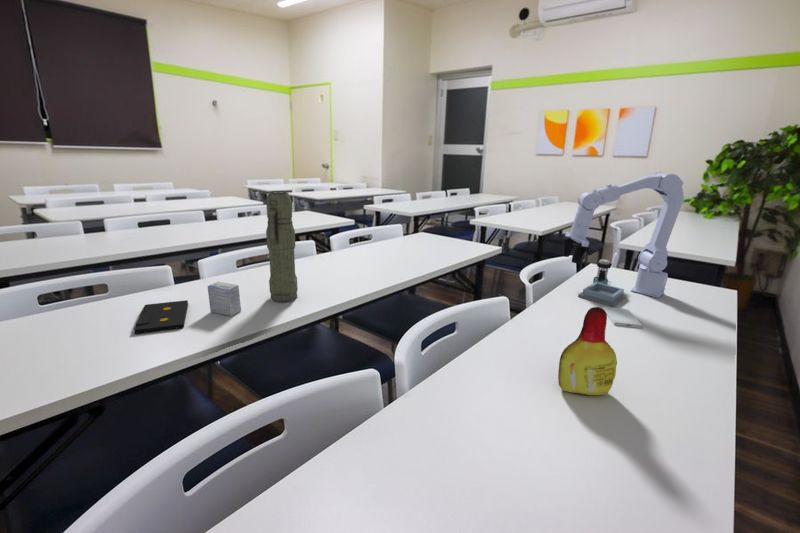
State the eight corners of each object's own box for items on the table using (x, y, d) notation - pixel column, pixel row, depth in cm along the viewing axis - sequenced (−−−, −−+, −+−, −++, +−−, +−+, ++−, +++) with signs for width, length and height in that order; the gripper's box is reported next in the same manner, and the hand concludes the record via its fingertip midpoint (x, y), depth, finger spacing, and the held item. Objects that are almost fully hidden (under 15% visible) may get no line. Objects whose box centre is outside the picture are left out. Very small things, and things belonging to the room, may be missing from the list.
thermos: (264, 303, 128) (256, 193, 117) (276, 290, 139) (270, 189, 129) (292, 305, 128) (286, 195, 117) (302, 291, 139) (297, 190, 128)
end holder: (626, 297, 146) (628, 289, 145) (613, 306, 136) (615, 298, 135) (592, 288, 154) (593, 280, 153) (578, 296, 144) (579, 289, 143)
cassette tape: (145, 310, 121) (144, 303, 121) (188, 305, 126) (187, 299, 125) (134, 336, 106) (133, 329, 105) (183, 330, 110) (182, 323, 109)
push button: (608, 283, 160) (613, 259, 157) (612, 288, 155) (618, 263, 152) (591, 281, 161) (595, 258, 158) (594, 286, 156) (599, 261, 153)
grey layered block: (241, 311, 122) (239, 284, 119) (231, 316, 118) (228, 289, 115) (220, 307, 124) (218, 280, 122) (210, 312, 120) (206, 285, 118)
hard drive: (602, 306, 134) (614, 321, 122) (629, 309, 132) (643, 324, 120) (601, 310, 134) (613, 326, 122) (628, 313, 133) (642, 329, 121)
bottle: (558, 397, 86) (574, 312, 80) (550, 380, 92) (564, 300, 86) (615, 401, 85) (635, 315, 79) (603, 384, 91) (621, 303, 85)
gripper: (562, 219, 154) (552, 252, 159) (580, 227, 141) (568, 264, 145) (579, 222, 155) (568, 255, 159) (599, 231, 141) (586, 266, 146)
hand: (569, 259), depth 152 cm, fingers open, 7 cm apart
